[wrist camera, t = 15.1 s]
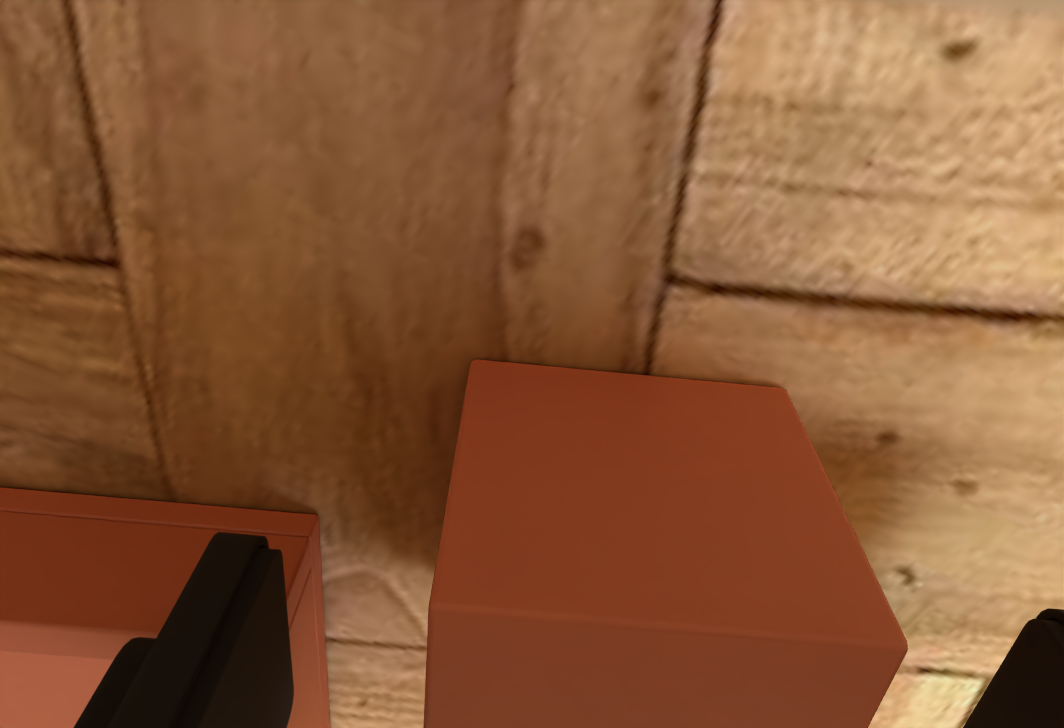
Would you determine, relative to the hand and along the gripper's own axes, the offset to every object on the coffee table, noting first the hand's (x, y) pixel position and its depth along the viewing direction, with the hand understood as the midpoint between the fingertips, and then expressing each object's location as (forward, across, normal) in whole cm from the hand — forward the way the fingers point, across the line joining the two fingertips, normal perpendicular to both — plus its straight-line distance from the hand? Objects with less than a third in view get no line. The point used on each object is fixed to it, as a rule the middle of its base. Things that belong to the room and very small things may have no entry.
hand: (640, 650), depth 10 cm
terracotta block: (+2, 0, 0) cm, 3 cm away
